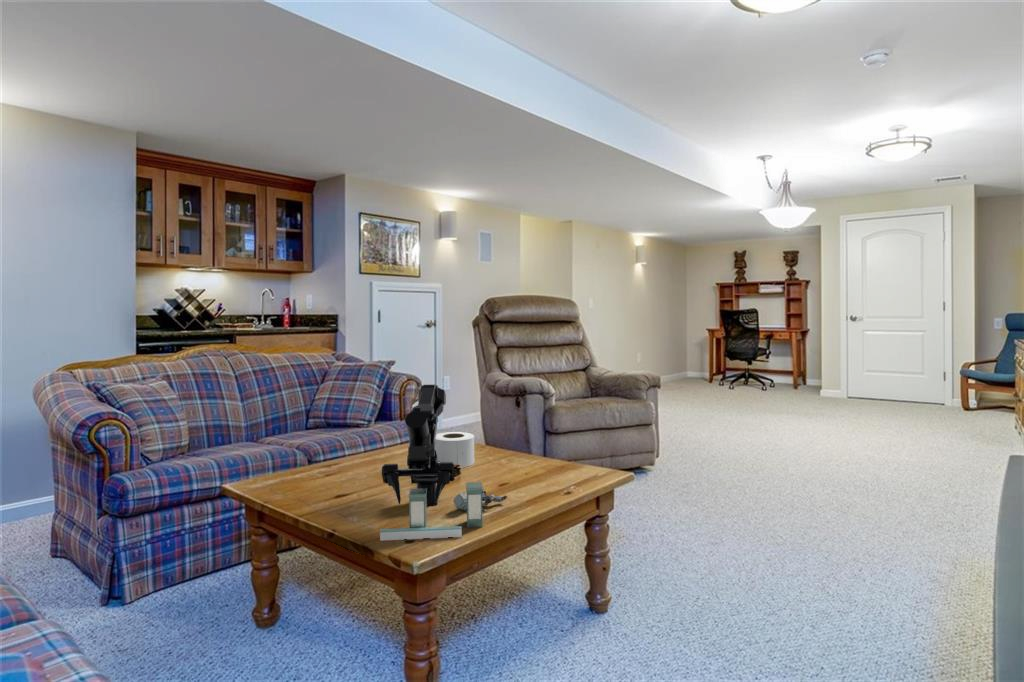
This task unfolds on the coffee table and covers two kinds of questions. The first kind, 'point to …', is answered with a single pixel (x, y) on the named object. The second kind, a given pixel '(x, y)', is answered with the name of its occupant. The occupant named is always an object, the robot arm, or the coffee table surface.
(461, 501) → the toy
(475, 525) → the twin tin
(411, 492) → the tea tin
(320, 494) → the coffee table surface
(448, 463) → the robot arm
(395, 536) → the rail
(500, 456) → the coffee table surface
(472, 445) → the object
